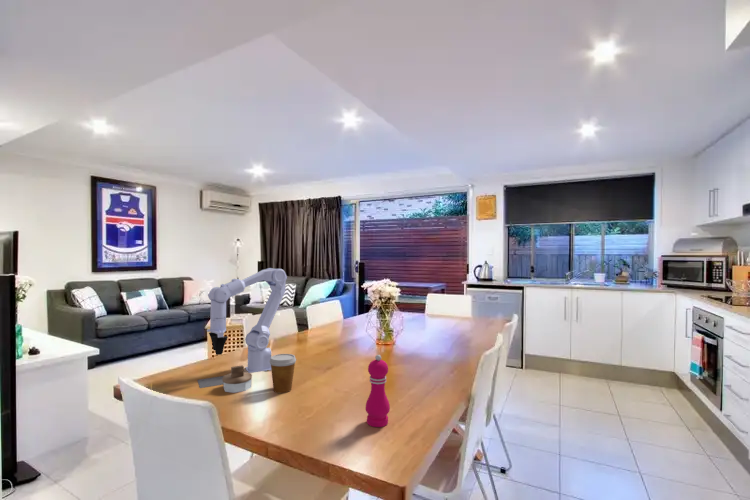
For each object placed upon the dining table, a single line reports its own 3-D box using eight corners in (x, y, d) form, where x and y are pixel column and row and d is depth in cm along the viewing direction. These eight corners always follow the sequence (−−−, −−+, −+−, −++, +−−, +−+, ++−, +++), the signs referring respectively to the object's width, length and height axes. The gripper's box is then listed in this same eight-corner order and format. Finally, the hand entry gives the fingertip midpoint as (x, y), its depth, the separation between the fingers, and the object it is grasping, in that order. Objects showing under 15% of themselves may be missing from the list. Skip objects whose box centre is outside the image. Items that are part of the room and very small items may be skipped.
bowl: (247, 382, 141) (247, 373, 141) (253, 390, 133) (253, 380, 133) (222, 386, 136) (222, 377, 136) (226, 395, 128) (226, 385, 128)
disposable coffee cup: (300, 387, 137) (301, 354, 137) (286, 396, 128) (287, 361, 128) (278, 384, 140) (279, 352, 140) (263, 392, 131) (263, 359, 131)
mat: (224, 376, 147) (224, 375, 147) (229, 384, 139) (229, 383, 139) (197, 380, 142) (197, 379, 142) (199, 389, 134) (199, 388, 134)
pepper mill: (364, 417, 112) (365, 351, 112) (388, 416, 113) (388, 351, 113) (366, 428, 105) (366, 358, 105) (391, 427, 105) (391, 358, 106)
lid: (248, 373, 141) (248, 361, 141) (254, 381, 133) (254, 368, 133) (220, 377, 136) (220, 365, 136) (224, 385, 128) (225, 372, 128)
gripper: (205, 315, 149) (204, 349, 149) (209, 321, 137) (208, 358, 137) (223, 314, 153) (223, 347, 153) (229, 320, 140) (228, 355, 140)
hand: (217, 352), depth 145 cm, fingers open, 7 cm apart
